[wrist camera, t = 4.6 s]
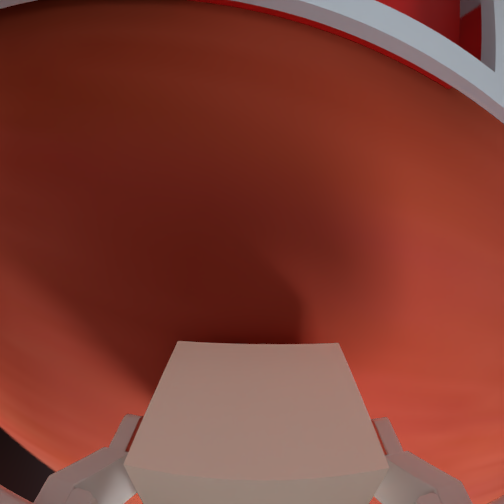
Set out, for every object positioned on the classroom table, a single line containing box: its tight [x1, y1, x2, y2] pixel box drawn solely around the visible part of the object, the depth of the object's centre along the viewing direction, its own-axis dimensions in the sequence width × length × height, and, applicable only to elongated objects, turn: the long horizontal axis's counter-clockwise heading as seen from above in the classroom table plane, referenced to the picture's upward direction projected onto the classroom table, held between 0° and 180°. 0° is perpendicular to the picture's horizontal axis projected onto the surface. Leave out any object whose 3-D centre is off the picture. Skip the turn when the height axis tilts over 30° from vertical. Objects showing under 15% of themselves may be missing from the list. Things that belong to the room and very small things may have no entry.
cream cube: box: [123, 341, 389, 504], centre depth 7 cm, size 5×5×5 cm
